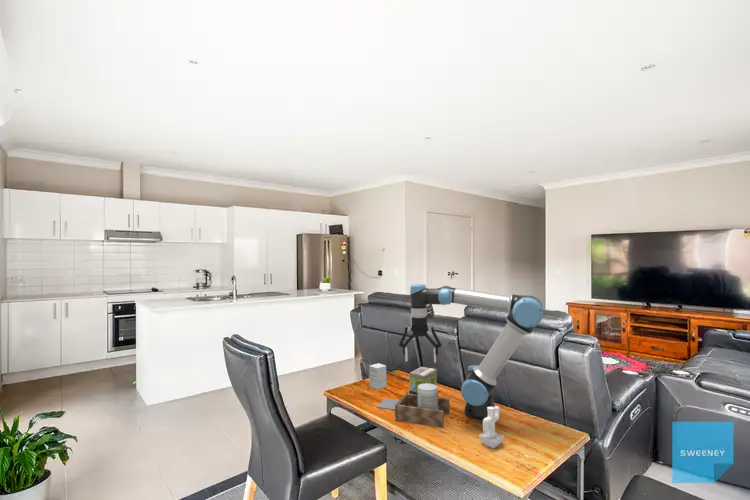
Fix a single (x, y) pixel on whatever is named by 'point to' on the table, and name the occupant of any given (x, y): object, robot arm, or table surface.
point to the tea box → (421, 378)
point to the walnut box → (421, 411)
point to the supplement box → (377, 376)
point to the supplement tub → (428, 396)
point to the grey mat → (388, 404)
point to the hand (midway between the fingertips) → (420, 361)
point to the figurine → (491, 428)
